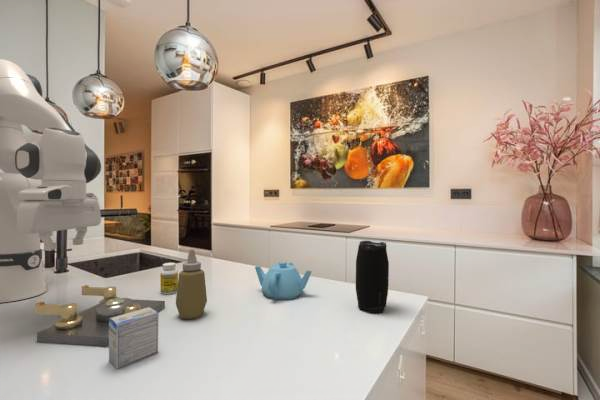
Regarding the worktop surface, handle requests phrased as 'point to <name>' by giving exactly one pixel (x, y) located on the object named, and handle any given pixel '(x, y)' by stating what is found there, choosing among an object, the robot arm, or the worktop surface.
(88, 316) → the levelling base
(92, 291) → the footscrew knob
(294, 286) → the teapot
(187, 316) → the squeeze bottle
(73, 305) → the lever
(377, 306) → the portable speaker
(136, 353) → the medicine box
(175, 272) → the supplement bottle
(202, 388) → the worktop surface
